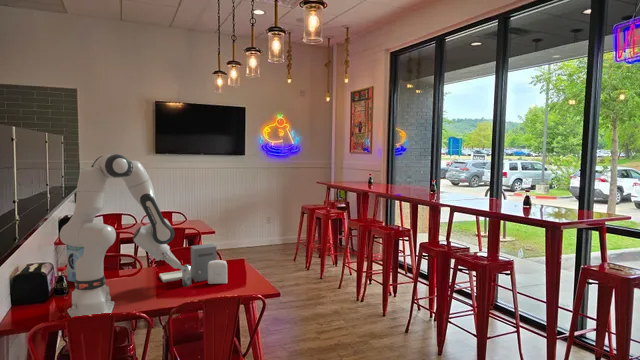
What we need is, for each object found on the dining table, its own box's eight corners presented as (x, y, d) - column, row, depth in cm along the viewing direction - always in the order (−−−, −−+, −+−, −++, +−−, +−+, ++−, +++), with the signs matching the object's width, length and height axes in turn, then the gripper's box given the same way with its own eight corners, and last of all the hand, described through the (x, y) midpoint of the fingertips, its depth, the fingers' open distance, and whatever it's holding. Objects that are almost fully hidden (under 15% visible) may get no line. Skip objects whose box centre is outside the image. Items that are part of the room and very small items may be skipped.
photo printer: (227, 281, 234) (227, 258, 233) (227, 283, 230) (226, 261, 229) (208, 282, 232) (207, 259, 231) (207, 284, 228) (206, 261, 227)
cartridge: (192, 285, 227) (191, 265, 226) (183, 286, 225) (182, 266, 224) (190, 283, 231) (189, 263, 230) (181, 284, 229) (180, 264, 228)
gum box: (67, 281, 236) (65, 239, 234) (75, 278, 240) (73, 237, 238) (92, 285, 228) (90, 242, 226) (100, 282, 232) (98, 240, 231)
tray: (189, 278, 239) (189, 275, 239) (163, 282, 232) (163, 279, 232) (184, 272, 250) (184, 270, 250) (159, 276, 243) (159, 273, 243)
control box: (217, 278, 239) (216, 246, 237) (195, 282, 233) (194, 249, 231) (212, 274, 246) (212, 243, 245) (191, 277, 240) (190, 245, 239)
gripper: (169, 251, 212) (190, 267, 218) (161, 242, 230) (181, 257, 236) (160, 261, 211) (181, 277, 216) (153, 251, 228) (173, 266, 234)
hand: (181, 267), depth 226 cm, fingers open, 8 cm apart
